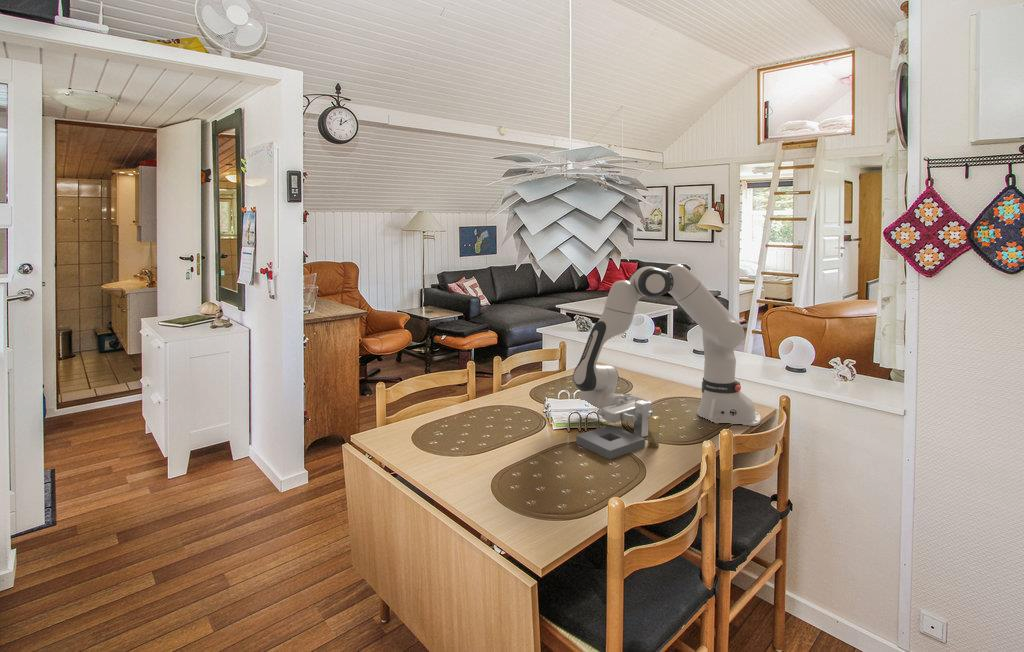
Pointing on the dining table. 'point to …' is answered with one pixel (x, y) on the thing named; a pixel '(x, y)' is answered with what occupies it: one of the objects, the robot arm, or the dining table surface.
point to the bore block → (610, 441)
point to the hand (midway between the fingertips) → (643, 416)
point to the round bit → (653, 431)
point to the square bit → (641, 418)
